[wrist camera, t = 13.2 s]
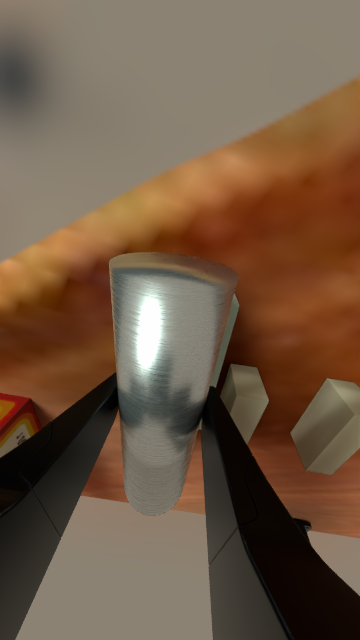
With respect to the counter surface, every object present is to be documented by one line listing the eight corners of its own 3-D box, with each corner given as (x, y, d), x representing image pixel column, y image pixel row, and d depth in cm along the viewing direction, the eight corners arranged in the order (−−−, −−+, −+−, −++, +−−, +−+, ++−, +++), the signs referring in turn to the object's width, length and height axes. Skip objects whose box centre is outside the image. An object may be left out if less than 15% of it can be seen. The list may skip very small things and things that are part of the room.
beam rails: (354, 382, 14) (388, 420, 12) (312, 436, 18) (331, 475, 15) (230, 363, 15) (236, 396, 12) (212, 420, 18) (214, 455, 15)
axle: (136, 248, 8) (78, 271, 5) (232, 261, 8) (249, 298, 4) (136, 438, 15) (113, 507, 11) (187, 449, 15) (180, 523, 11)
